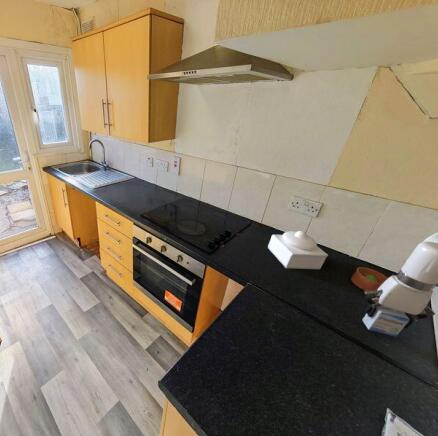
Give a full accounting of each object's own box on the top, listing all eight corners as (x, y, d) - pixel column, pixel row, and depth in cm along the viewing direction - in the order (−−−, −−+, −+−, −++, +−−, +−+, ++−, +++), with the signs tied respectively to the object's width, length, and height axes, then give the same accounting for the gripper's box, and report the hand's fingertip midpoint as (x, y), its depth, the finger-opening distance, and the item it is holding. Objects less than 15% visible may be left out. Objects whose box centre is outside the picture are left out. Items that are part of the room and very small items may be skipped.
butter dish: (297, 248, 126) (308, 223, 119) (320, 269, 110) (335, 242, 103) (267, 247, 125) (276, 222, 117) (286, 268, 109) (298, 241, 101)
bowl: (377, 282, 104) (384, 272, 101) (387, 298, 95) (395, 288, 92) (347, 274, 108) (353, 264, 105) (354, 289, 99) (361, 278, 96)
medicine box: (367, 330, 78) (380, 312, 74) (361, 319, 81) (373, 302, 78) (396, 337, 76) (411, 319, 72) (388, 326, 79) (402, 309, 75)
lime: (371, 283, 102) (377, 274, 100) (375, 290, 98) (382, 281, 96) (358, 279, 104) (363, 271, 102) (361, 286, 100) (367, 277, 98)
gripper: (447, 282, 68) (413, 321, 76) (373, 264, 75) (350, 301, 83) (464, 299, 62) (425, 339, 70) (382, 277, 69) (356, 317, 77)
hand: (385, 319), depth 76 cm, fingers closed on medicine box, 8 cm apart
